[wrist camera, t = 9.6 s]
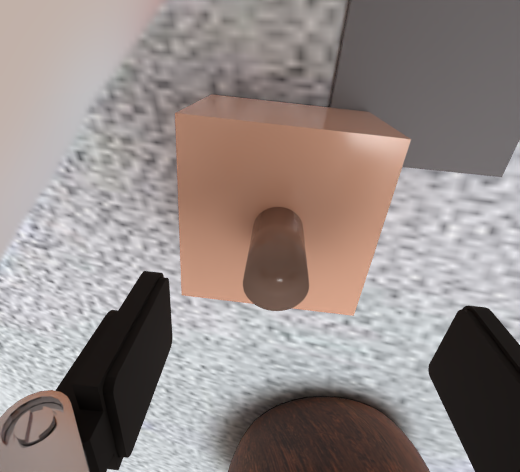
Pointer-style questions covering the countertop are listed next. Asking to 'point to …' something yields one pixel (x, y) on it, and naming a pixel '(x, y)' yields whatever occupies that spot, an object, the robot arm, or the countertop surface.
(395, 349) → the countertop surface
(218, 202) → the cover
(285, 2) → the countertop surface
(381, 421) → the wooden bowl
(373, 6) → the mat
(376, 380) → the countertop surface
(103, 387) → the robot arm
